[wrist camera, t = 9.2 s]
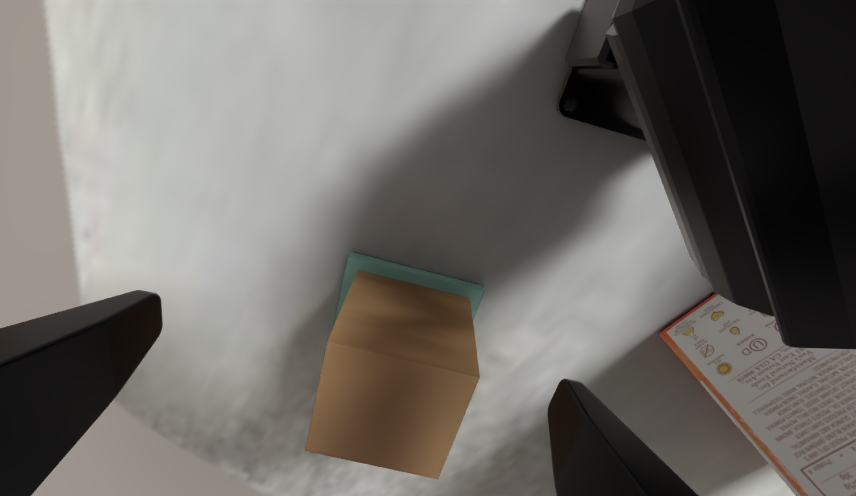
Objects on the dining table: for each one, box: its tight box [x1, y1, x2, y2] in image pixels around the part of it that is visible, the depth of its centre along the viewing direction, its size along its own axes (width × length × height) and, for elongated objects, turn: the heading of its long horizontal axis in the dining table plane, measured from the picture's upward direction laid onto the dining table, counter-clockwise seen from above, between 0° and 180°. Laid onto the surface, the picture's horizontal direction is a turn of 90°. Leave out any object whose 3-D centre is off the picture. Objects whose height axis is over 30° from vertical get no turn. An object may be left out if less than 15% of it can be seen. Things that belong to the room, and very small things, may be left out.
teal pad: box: [333, 252, 484, 327], centre depth 23 cm, size 7×7×1 cm
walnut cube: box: [305, 270, 480, 479], centre depth 19 cm, size 6×6×6 cm
